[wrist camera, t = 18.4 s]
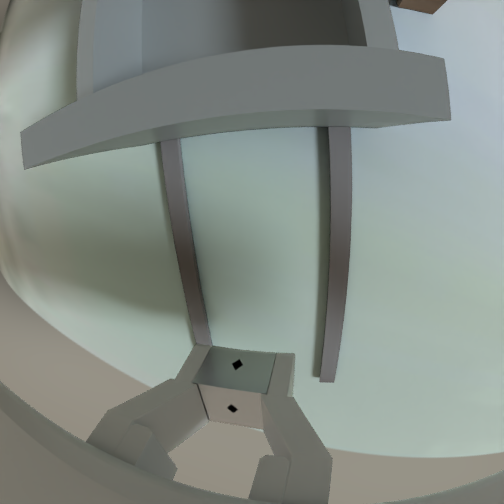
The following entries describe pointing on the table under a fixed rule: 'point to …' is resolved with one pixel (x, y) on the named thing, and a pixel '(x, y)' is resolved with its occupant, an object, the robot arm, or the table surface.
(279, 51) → the tray
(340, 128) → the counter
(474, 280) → the table surface
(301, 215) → the table surface
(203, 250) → the table surface
